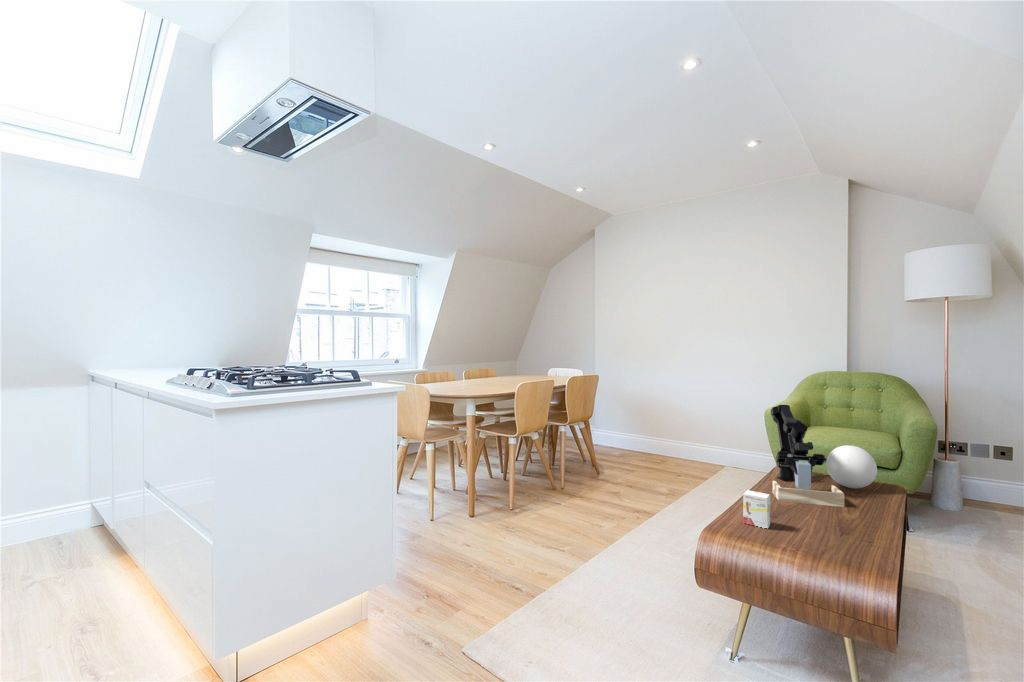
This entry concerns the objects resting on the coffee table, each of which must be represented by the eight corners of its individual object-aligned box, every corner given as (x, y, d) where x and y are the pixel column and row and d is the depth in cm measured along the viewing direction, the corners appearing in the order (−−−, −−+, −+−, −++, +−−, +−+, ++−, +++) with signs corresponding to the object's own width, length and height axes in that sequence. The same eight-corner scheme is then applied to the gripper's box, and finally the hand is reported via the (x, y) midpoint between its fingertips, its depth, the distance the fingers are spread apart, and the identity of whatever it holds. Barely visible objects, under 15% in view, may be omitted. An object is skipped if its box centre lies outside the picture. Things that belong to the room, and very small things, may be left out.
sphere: (870, 496, 209) (870, 452, 209) (820, 486, 224) (820, 445, 225) (882, 488, 222) (882, 446, 222) (833, 479, 237) (833, 439, 237)
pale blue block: (795, 485, 213) (795, 461, 213) (807, 486, 211) (807, 462, 211) (798, 488, 208) (798, 464, 208) (811, 489, 206) (811, 464, 206)
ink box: (742, 523, 177) (742, 492, 177) (745, 520, 181) (745, 489, 181) (767, 529, 172) (767, 497, 172) (770, 525, 176) (770, 494, 176)
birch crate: (772, 493, 213) (772, 480, 213) (834, 499, 206) (834, 485, 206) (778, 501, 202) (778, 488, 202) (844, 508, 195) (844, 493, 195)
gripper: (777, 433, 216) (783, 463, 205) (824, 436, 210) (832, 467, 200) (773, 447, 223) (779, 476, 213) (818, 449, 218) (826, 480, 207)
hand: (803, 474), depth 208 cm, fingers closed on pale blue block, 5 cm apart
